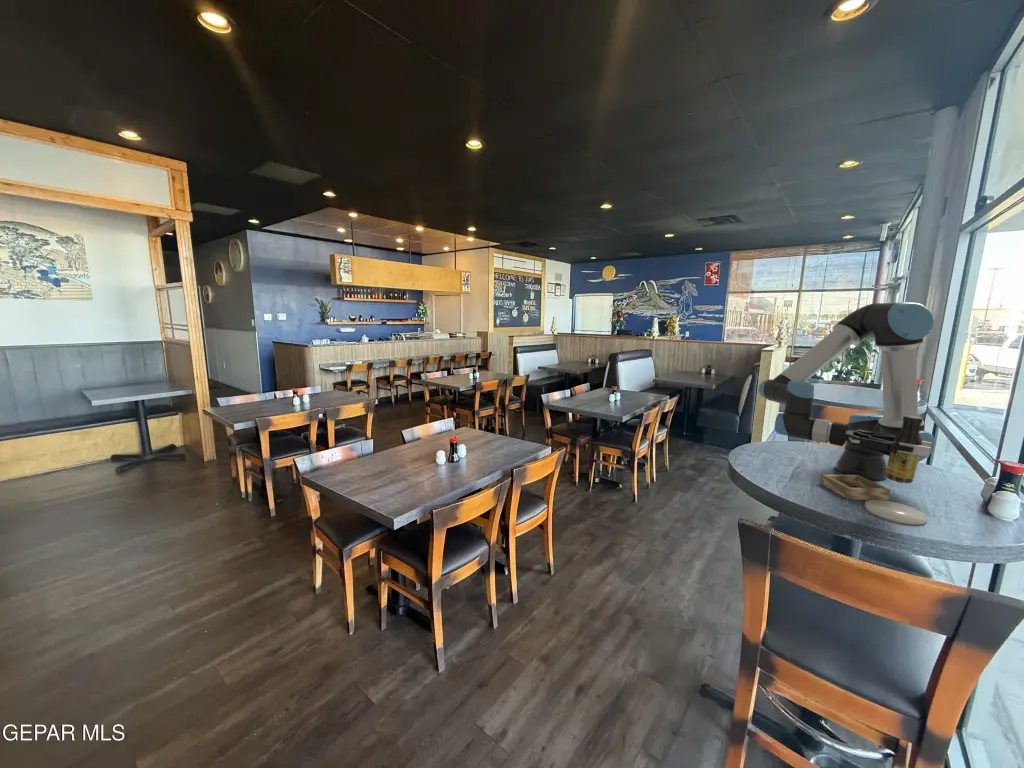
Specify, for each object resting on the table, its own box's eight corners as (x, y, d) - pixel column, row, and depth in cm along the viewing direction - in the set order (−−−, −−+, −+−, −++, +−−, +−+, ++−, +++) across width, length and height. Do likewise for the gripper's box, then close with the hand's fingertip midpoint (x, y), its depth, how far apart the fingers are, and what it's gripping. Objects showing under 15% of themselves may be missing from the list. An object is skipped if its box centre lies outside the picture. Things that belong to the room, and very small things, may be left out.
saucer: (897, 503, 132) (897, 500, 132) (941, 525, 119) (941, 521, 118) (853, 502, 133) (853, 499, 132) (891, 524, 119) (892, 520, 119)
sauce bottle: (879, 476, 127) (890, 413, 124) (898, 476, 127) (909, 413, 124) (900, 485, 120) (913, 419, 117) (920, 484, 121) (933, 419, 118)
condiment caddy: (856, 484, 148) (858, 474, 147) (888, 500, 135) (890, 490, 134) (820, 483, 148) (821, 474, 147) (848, 499, 135) (850, 489, 134)
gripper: (834, 437, 142) (928, 454, 126) (822, 449, 129) (926, 470, 112) (837, 416, 141) (933, 431, 124) (826, 426, 128) (931, 443, 111)
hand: (930, 449), depth 118 cm, fingers closed on sauce bottle, 6 cm apart
